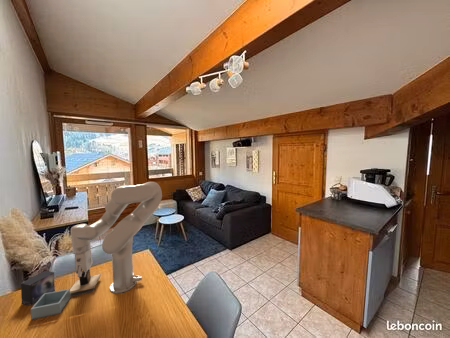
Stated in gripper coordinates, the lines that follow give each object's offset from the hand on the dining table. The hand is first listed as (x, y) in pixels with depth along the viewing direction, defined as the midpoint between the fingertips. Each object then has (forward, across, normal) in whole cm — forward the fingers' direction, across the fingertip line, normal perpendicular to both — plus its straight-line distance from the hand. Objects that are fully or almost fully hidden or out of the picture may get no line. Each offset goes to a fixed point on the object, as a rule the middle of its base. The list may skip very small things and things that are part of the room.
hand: (85, 281), depth 101 cm
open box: (+3, -12, +10) cm, 15 cm away
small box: (+3, -1, +20) cm, 20 cm away
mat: (+3, 0, +2) cm, 4 cm away
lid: (+1, 0, 0) cm, 1 cm away
